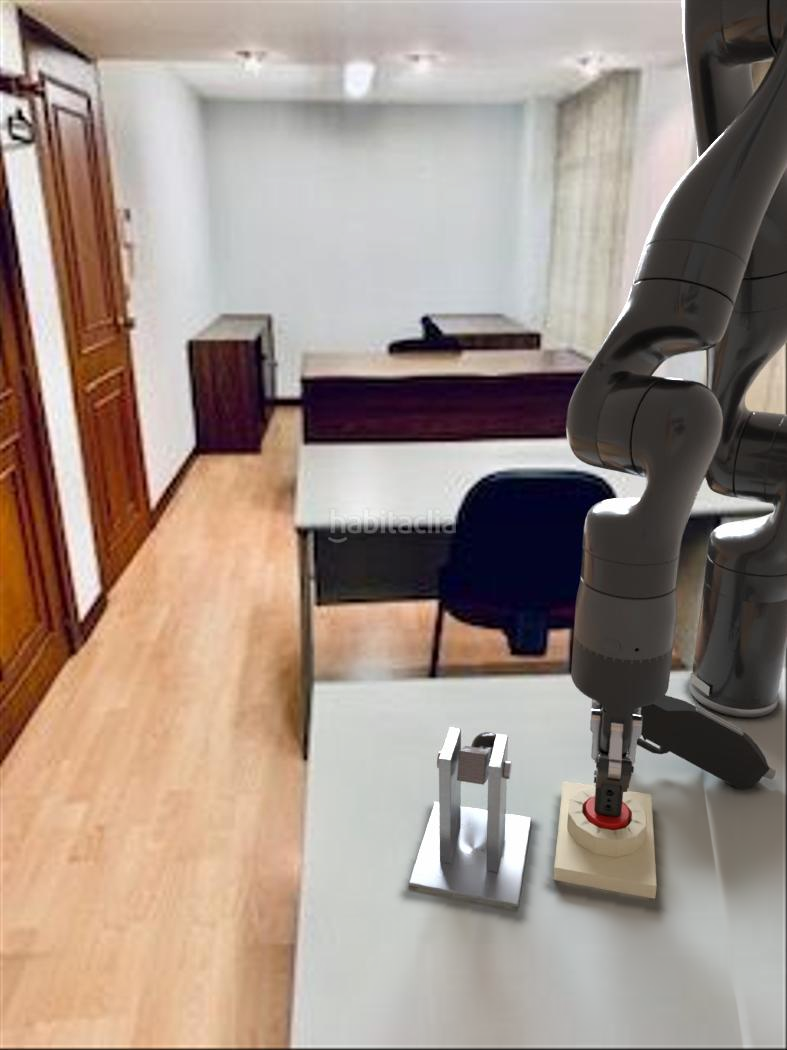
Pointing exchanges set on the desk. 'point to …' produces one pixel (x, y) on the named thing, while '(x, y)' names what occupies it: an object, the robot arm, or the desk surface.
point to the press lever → (476, 759)
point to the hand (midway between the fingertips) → (607, 810)
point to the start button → (606, 817)
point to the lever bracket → (473, 834)
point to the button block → (606, 845)
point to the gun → (703, 741)
